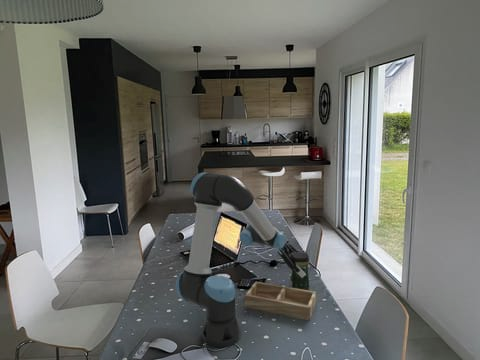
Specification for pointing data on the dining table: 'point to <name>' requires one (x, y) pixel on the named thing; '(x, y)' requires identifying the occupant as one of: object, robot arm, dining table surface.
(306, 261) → the coffee jar
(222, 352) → the dining table surface
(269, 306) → the jar crate
